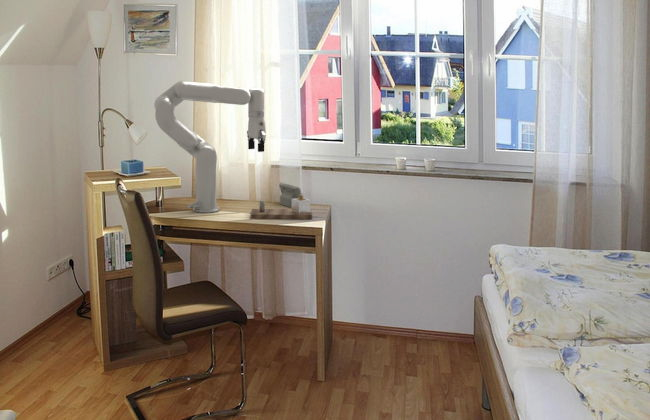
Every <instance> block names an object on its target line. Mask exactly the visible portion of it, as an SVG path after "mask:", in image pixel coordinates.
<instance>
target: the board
mask: <svg viewBox="0 0 650 420" xmlns="http://www.w3.org/2000/svg"><path fill="white" fill-rule="evenodd" d="M304 198H305V197H304V195H303V194H302V195H299V197H298V200H304ZM250 212H251V213H250V219H251V218H253V219H254V218H255V219H256V220H262V219H263V220H274V219H275V220H312V219H313V212H312V209H311V208H310V213H303V214H297V213H295V212H292V208H266V201H265V200H259V208H251V211H250ZM253 219H252V220H253Z"/></svg>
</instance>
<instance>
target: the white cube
mask: <svg viewBox="0 0 650 420" xmlns="http://www.w3.org/2000/svg"><path fill="white" fill-rule="evenodd" d="M311 203H312V202H311V199H309V198H306V197H304V200H298V198H294V199H292V207H291V209H292V212H295V213H297V214H303V213H310V209H311V206H312V205H311Z"/></svg>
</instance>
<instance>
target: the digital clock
mask: <svg viewBox="0 0 650 420" xmlns="http://www.w3.org/2000/svg"><path fill="white" fill-rule="evenodd" d="M278 185H279V190H280V192H281V195H279V204H280V205H281V204H282V206H284V205H285V206H284V207H288V208H292V199H294V198H298V197H299V195H303V193H302V190H301V187H300V186H298V185H294V184H290V183H286V182H279V184H278Z"/></svg>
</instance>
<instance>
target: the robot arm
mask: <svg viewBox="0 0 650 420" xmlns="http://www.w3.org/2000/svg"><path fill="white" fill-rule="evenodd" d="M183 101H192V102H203V103H213V104H217V103H218V104H227V105H236V106H237V105H239V106H245V105H246V104H247V106H248V107H247V109H248V110H247V111H248V114H247V118H248V124H247V131H246V136H247V141H248V142H247V144H248V145H247V146H248V147H247V148H248V150H255V147H256V146H255V143H256V142H255V140H257V141H258V143H257V152H258V153H263V152H265V141H266V136H267V135H266V134H267V132H266V121H265V90H264V89H263V88H261V87H260V88H259V87H254V88H253V87H251V88H246V87H229V86H221V85H218V84H215V83H206V82H197V81H196V82H195V81H193V82H192V81H186V80H178V81H177V82H175V84H173V85H172V86H170V87H169V88H168V89H166V91H164V92H163V93H162V94H160V95H159V96H158V97H156V99H155V101H154V103H153V104H154V106H153V107H154V109H155V113H154V115H155V116H154V117H155V120H156V123H157V126H158V127H159V128H160V130H162V131H163V133H165V134H166V135H167V137H169V138H171V140H173V141H174V142H175V143H176V144H177V146H179V147H180V148H181V149H183V150H185V152H187V153H188V154H189V155H190V156H192V157H193V158H194V159H195V196H196V197H195V200H194V201H193V203H188V204H187V205H186V206H187V209H192V210H193V211H194V212H196V213H201V214H202V213H203V214H204V213H205V214H207V213H217V212H219V211H220V210H221V207H220V206H218V205H217V162H218V161H217V160H218V157H217V156H218V155H217V151H216V149H215V148H214V146H212V145H211V144H210V143H209V142H207V141H206V140H205V139H203V138H202V137H201V136H200V135H199V134H197V133H196V132H195V131H194V130H192V129H191V128H190V127H187V126H186V124H184V123H182V121H180V120H179V119H178V118H177V117H176V116H175V112H174V111H175V108H176V107H177V106H178V105H180V104H181V103H183Z"/></svg>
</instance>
